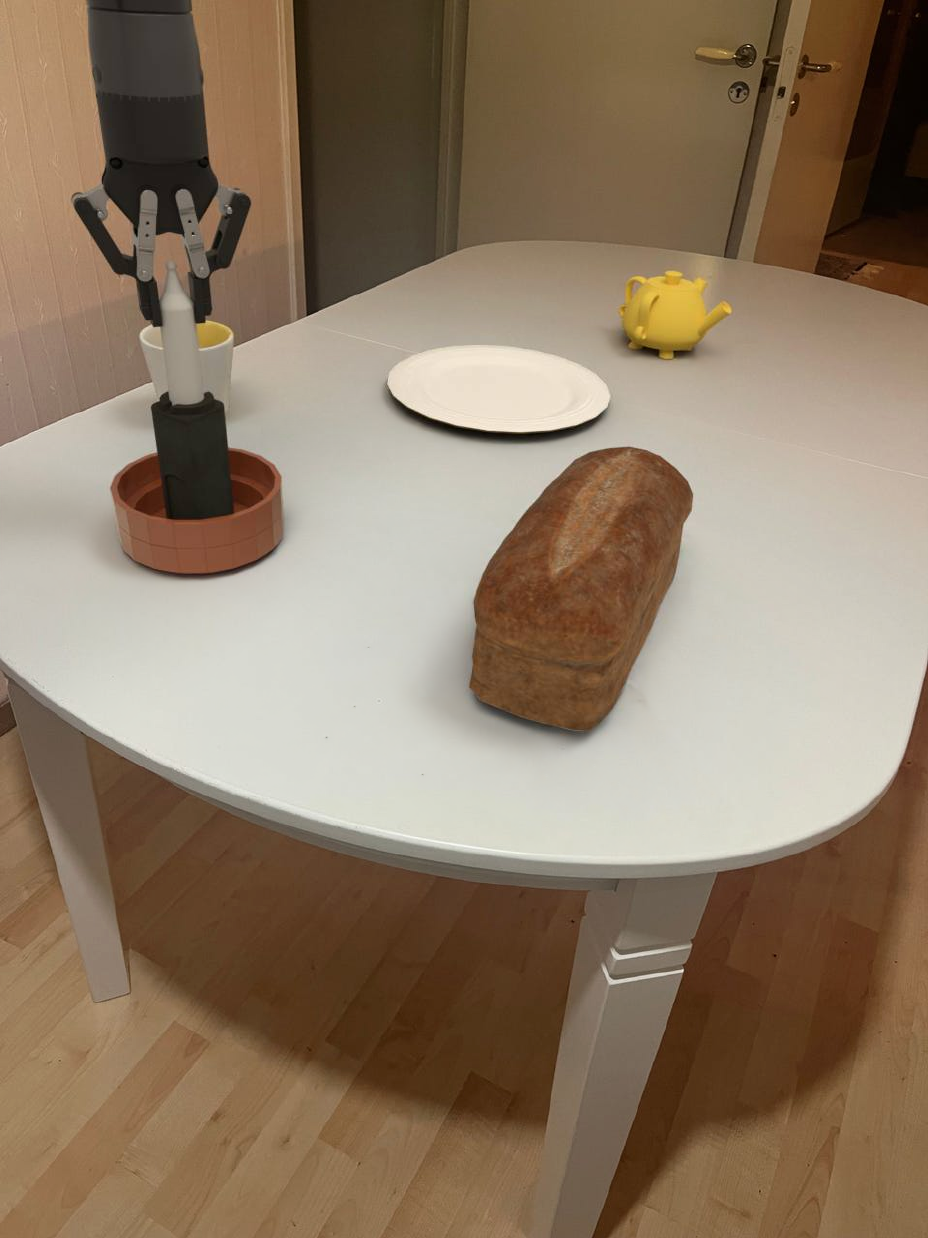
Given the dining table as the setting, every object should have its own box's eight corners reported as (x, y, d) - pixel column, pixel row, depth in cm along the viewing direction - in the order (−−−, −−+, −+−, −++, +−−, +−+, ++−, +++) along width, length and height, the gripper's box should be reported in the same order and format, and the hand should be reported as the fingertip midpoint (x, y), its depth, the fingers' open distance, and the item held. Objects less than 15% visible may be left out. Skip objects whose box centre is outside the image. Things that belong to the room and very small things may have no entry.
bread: (444, 713, 71) (453, 565, 63) (568, 532, 94) (586, 408, 86) (596, 764, 67) (626, 614, 59) (686, 563, 91) (716, 436, 83)
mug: (205, 445, 105) (195, 355, 99) (133, 425, 108) (119, 337, 102) (273, 404, 115) (268, 320, 109) (205, 387, 118) (197, 305, 112)
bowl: (134, 594, 81) (124, 535, 77) (110, 512, 92) (100, 457, 88) (303, 563, 86) (300, 507, 83) (262, 489, 97) (258, 437, 94)
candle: (241, 528, 89) (216, 260, 75) (202, 550, 86) (169, 273, 71) (202, 512, 91) (171, 248, 77) (163, 532, 88) (123, 260, 73)
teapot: (721, 366, 136) (738, 288, 130) (630, 363, 135) (644, 284, 128) (693, 333, 148) (709, 260, 141) (610, 330, 146) (621, 256, 140)
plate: (573, 465, 106) (575, 450, 105) (347, 413, 114) (347, 399, 113) (631, 381, 129) (633, 368, 128) (439, 343, 137) (440, 330, 136)
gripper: (234, 79, 72) (250, 302, 82) (40, 75, 67) (82, 314, 77) (258, 92, 67) (272, 330, 77) (49, 89, 61) (94, 345, 72)
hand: (177, 321), depth 77 cm, fingers closed on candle, 3 cm apart
